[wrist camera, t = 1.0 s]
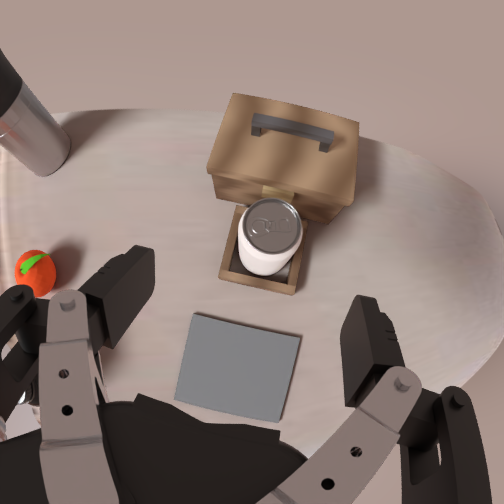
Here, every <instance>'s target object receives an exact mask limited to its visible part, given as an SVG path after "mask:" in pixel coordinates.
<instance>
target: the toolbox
mask: <svg viewBox="0 0 504 504" xmlns="http://www.w3.org/2000/svg"><path fill="white" fill-rule="evenodd" d="M358 138H359V122H356V121H353V120H349V119H346V118H343V117H339V116H336V115H333V114H329V113H325V112H322V111H318V110H314V109H310V108H307V107H302V106H298V105H294V104H289V103H285V102H280V101H276V100H271V99H266V98H260V97H255V96H249V95H243V94H237V93H233V94H232V97H231V99H230V102H229V105H228V107H227V110H226V113H225V115H224V118H223V121H222V123H221V126H220V129H219V132H218V135H217V137H216V140H215V143H214V146H213V149H212V152H211V155H210V158H209V161H208V164H207V167H206V168H207V172H208V174H212V179H213V184H214V189H215V194H216V198H217V199H222V200H227V201H232V202H236V203H241V204H245V205H250V206H251V205H252V204H253V203H255V202H256V201H258V200H260V199H264V198H278V199H282V200H284V201H286V202H288V203H289V204H291V205H292V206H293V207H294V208H295V209H296V211H297V212H298V214H299V216H300V217H301V218H306V219H310V220H314V221H318V222H322V223H326V224H329V223H330V222H331V221H332V219H333V218H334V217H335V216H336V215H337V214H338V213H339V212H340V210H341V209H342V208H343V207H344V206H350V205H351V204H352V202H353V201H354V191H355V180H356V168H357V155H358ZM247 209H248V208H247V207H243V206H238V205H236V209H235V212H234V216H233V220H232V224H231V228H230V232H229V236H228V239H227V243H226V247H225V251H224V255H223V259H222V263H221V267H220V271H219V275H218V278H219V279H221V280H225V281H229V282H234V283H238V284H242V285H247V286H251V287H255V288H260V289H264V290H269V291H273V292H277V293H282V294H287V295H291V296H292V295H294V293H295V289H296V284H297V279H298V274H299V269H300V264H301V259H302V253H303V248H304V243H305V237H306V232H307V226H308V222H307V221H303V220H301V224H302V230H303V234H302V239H301V243H300V245H299V247H298V249H297V250H296V251H295V253H294V254H293V255H292V258H291V263H290V268H289V273H288V277H287V282H286V284H283V283H278V282H274V281H269V280H265V279H260V278H256V277H252V276H247V275H243V274H239V273H235V272H230V271H229V270H230V266H231V262H232V258H233V254H234V250H235V246H236V242H237V238H238V226H239V222H240V219H241V217H242V215H243V213H244V212H245V211H246V210H247Z"/></svg>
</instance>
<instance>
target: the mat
mask: <svg viewBox="0 0 504 504" xmlns="http://www.w3.org/2000/svg"><path fill="white" fill-rule="evenodd" d="M299 340H300V338H298V337H293V336H288V335H283V334H278V333H273V332H269V331H264V330H259V329H255V328H250V327H246V326H242V325H237V324H233V323H229V322H225V321H220V320H216V319H212V318H208V317H204V316H201V315H197V314H193V316H192V320H191V324H190V328H189V333H188V337H187V342H186V346H185V350H184V355H183V359H182V364H181V369H180V373H179V378H178V383H177V388H176V392H175V397H174V400H177V401H181V402H184V403H188V404H191V405H195V406H199V407H202V408H206V409H210V410H215V411H219V412H223V413H228V414H232V415H237V416H242V417H247V418H252V419H257V420H263V421H269V422H275V423H279V419H280V416H281V412H282V408H283V405H284V401H285V397H286V393H287V390H288V386H289V382H290V378H291V374H292V370H293V366H294V362H295V357H296V353H297V349H298V345H299Z"/></svg>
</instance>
